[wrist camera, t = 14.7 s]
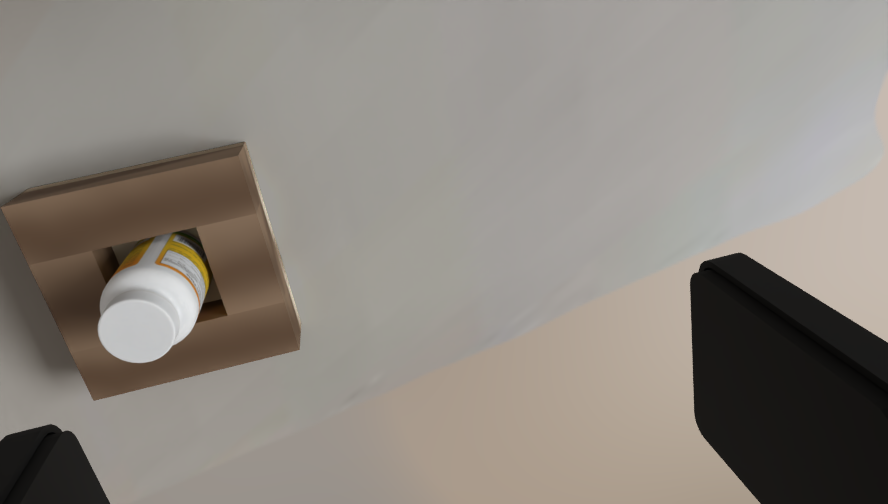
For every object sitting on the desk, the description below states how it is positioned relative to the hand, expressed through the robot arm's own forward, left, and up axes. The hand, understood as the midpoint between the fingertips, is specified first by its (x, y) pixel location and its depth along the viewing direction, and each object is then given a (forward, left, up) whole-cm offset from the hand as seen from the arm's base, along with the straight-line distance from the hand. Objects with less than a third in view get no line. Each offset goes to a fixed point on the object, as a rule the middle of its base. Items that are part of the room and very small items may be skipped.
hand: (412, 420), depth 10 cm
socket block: (+9, -14, -36) cm, 40 cm away
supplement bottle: (+9, -14, -36) cm, 39 cm away
